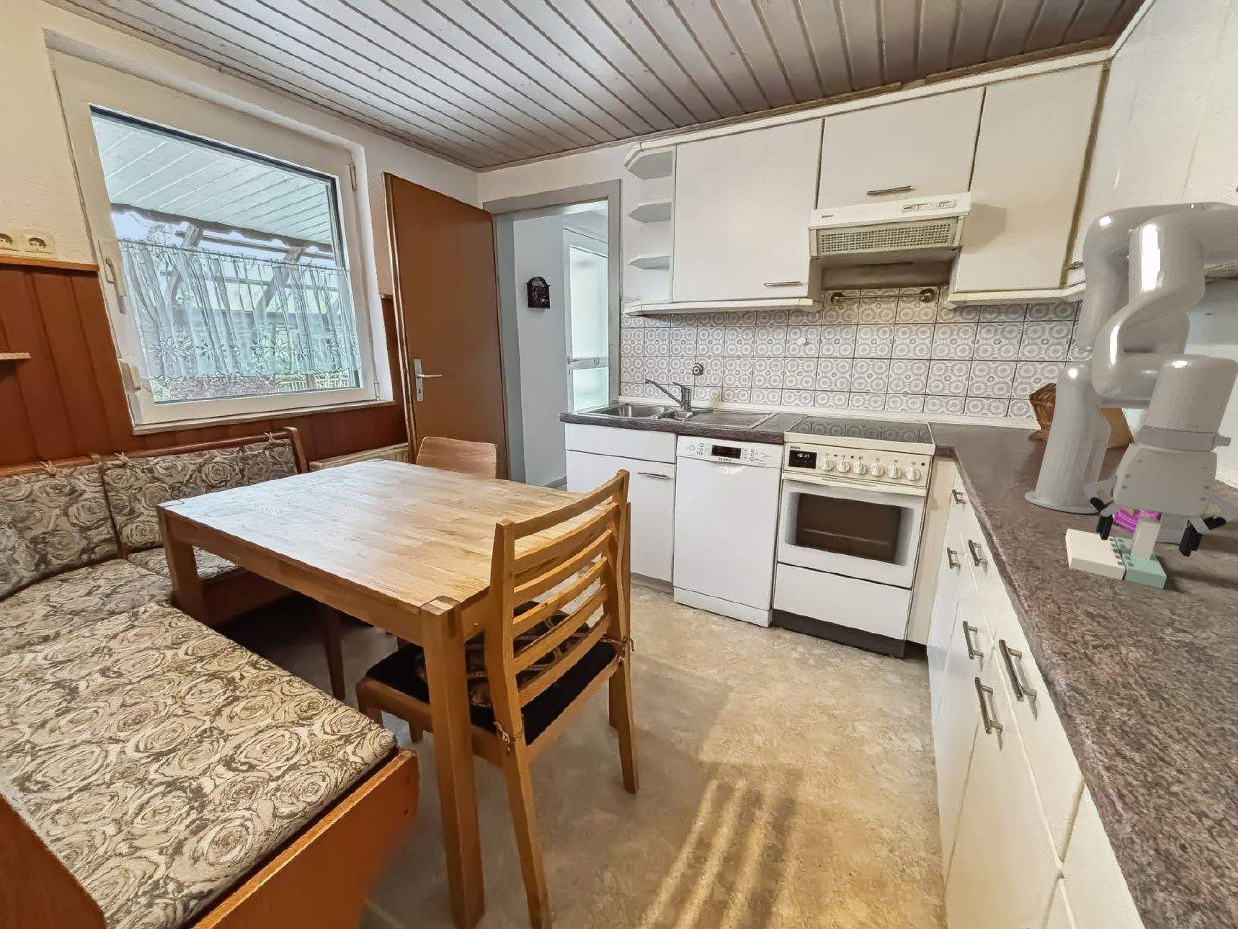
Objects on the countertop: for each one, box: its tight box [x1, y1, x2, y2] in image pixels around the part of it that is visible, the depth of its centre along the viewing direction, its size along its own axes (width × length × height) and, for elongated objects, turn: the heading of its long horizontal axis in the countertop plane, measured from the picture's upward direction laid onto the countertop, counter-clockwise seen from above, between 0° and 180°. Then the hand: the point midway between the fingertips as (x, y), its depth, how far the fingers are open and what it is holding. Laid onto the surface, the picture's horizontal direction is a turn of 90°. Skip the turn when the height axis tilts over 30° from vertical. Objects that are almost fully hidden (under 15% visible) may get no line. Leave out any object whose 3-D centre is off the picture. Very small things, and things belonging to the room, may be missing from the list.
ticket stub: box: [1114, 516, 1167, 590], centre depth 78 cm, size 16×4×8 cm, turn 140°
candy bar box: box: [1112, 443, 1190, 545], centre depth 91 cm, size 11×5×16 cm, turn 168°
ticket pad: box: [1065, 528, 1125, 581], centre depth 82 cm, size 16×6×2 cm, turn 140°
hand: (1142, 545), depth 78 cm, fingers open, 8 cm apart
